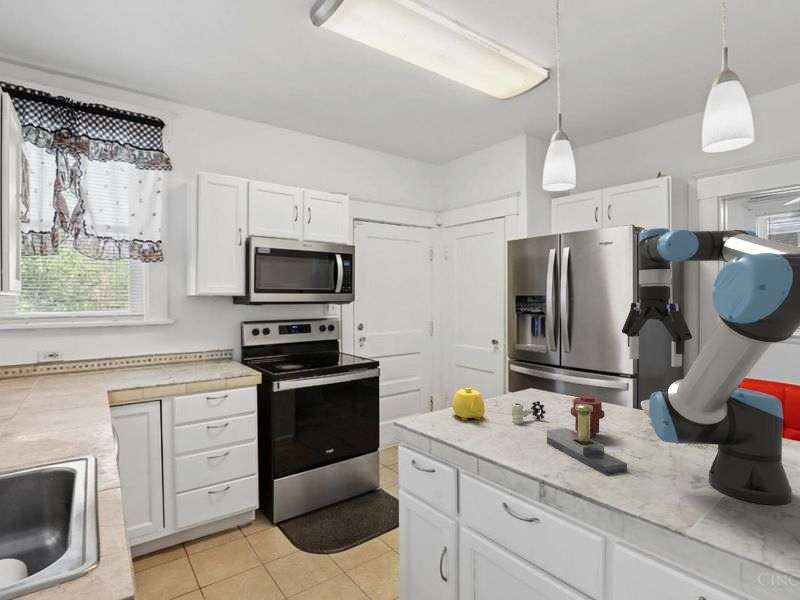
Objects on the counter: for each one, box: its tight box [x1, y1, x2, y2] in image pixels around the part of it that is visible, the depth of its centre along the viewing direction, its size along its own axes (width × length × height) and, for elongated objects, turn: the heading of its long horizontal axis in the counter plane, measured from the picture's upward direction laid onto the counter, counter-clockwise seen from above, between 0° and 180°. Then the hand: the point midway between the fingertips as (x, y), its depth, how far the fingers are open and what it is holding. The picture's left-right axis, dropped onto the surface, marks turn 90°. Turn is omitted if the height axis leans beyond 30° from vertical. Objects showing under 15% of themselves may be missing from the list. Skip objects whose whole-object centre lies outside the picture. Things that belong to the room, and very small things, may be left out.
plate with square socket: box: [546, 427, 628, 475], centre depth 124 cm, size 24×7×4 cm, turn 17°
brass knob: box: [575, 404, 593, 445], centre depth 124 cm, size 5×5×14 cm
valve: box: [511, 400, 547, 425], centre depth 157 cm, size 7×7×12 cm
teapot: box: [452, 387, 486, 421], centre depth 162 cm, size 18×11×11 cm, turn 13°
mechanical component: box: [570, 395, 605, 439], centre depth 141 cm, size 12×10×10 cm
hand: (654, 362), depth 122 cm, fingers open, 13 cm apart
